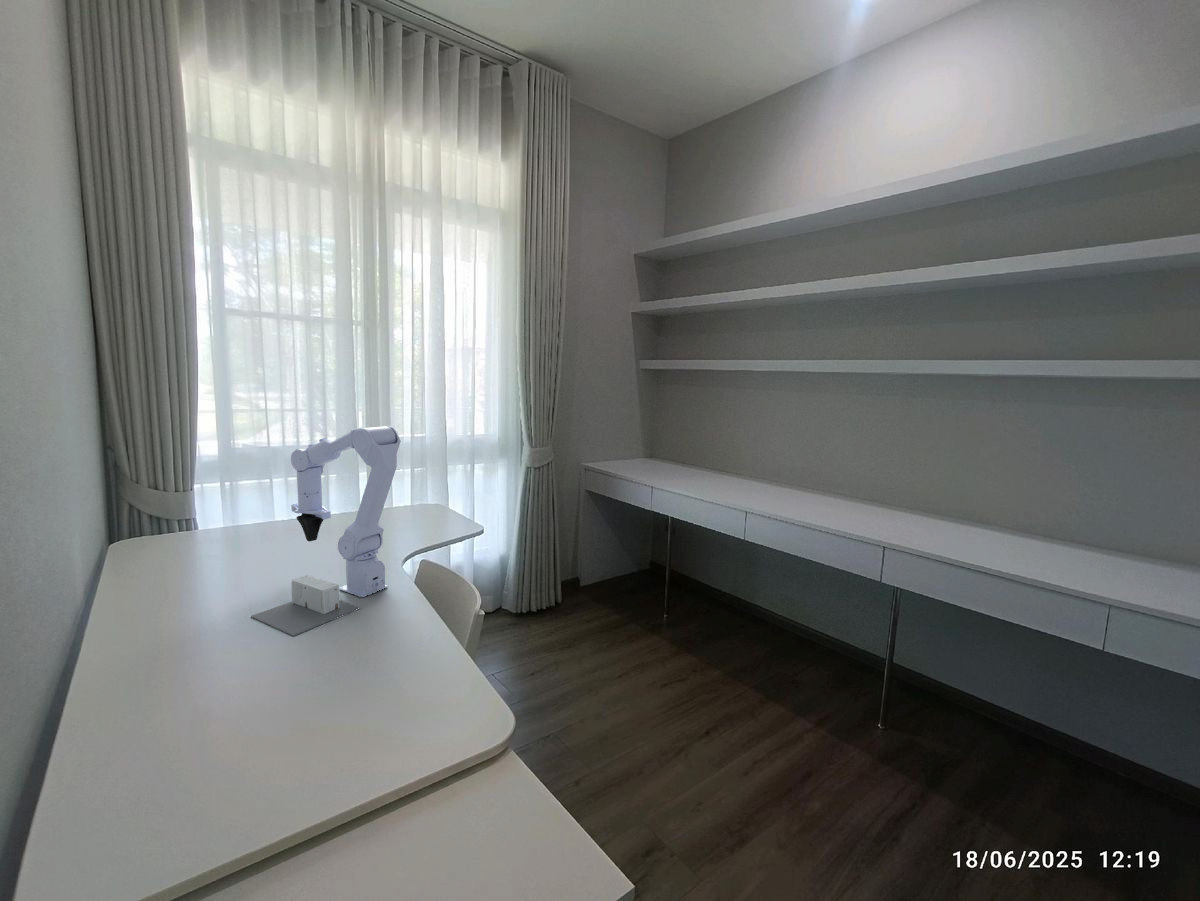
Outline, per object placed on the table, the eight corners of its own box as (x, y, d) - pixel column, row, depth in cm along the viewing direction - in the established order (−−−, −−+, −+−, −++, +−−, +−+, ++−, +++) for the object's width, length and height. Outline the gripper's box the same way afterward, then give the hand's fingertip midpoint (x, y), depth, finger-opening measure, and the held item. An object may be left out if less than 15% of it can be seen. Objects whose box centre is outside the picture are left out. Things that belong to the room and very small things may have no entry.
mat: (359, 608, 123) (359, 607, 123) (293, 636, 109) (293, 635, 109) (317, 593, 131) (317, 592, 131) (251, 617, 117) (251, 615, 117)
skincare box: (290, 580, 123) (321, 590, 118) (308, 574, 127) (339, 583, 122) (292, 604, 124) (322, 615, 119) (309, 597, 128) (340, 608, 123)
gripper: (279, 491, 138) (281, 539, 140) (311, 498, 132) (313, 549, 133) (304, 486, 145) (306, 532, 146) (337, 493, 138) (338, 542, 140)
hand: (311, 540), depth 140 cm, fingers closed
